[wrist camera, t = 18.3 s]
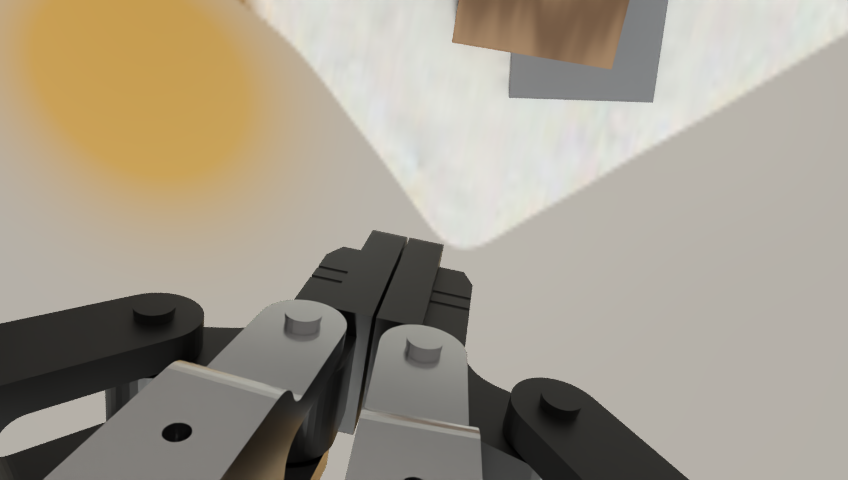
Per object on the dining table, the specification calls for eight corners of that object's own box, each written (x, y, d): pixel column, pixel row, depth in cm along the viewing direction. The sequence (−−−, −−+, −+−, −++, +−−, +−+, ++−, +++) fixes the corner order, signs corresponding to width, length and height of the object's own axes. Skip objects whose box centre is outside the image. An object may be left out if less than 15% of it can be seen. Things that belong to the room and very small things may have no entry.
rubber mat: (508, 96, 40) (508, 97, 39) (519, -75, 36) (519, -76, 36) (650, 101, 39) (652, 102, 38) (676, -75, 35) (679, -76, 34)
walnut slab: (611, 69, 35) (452, 42, 36) (605, 65, 38) (455, 39, 38) (640, -43, 33) (469, -69, 34) (632, -40, 35) (472, -65, 36)
